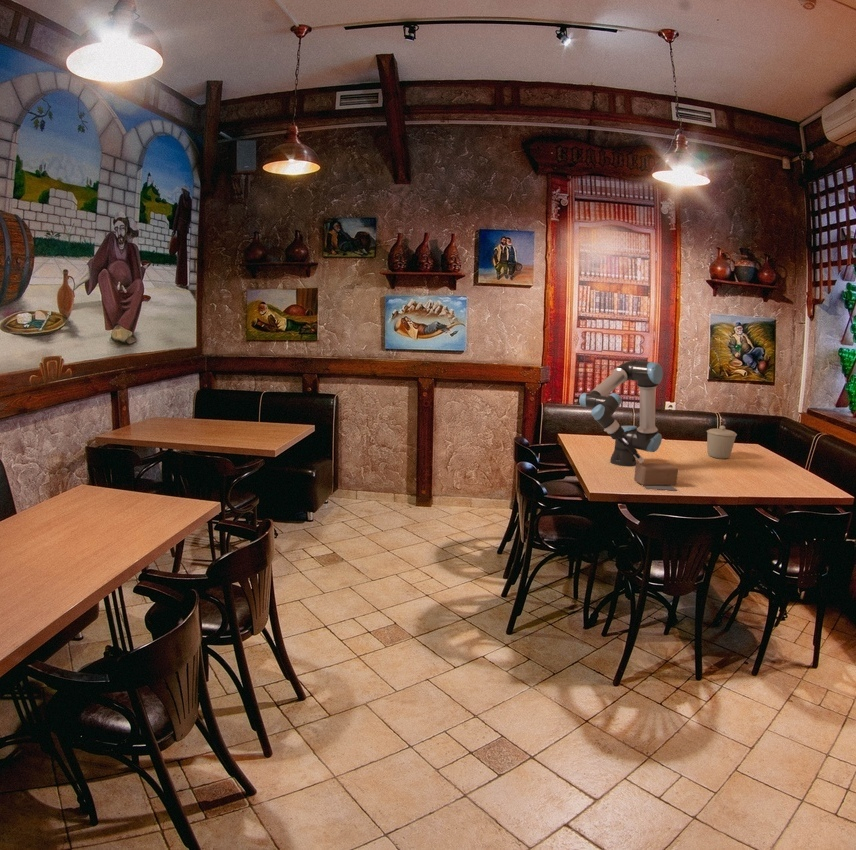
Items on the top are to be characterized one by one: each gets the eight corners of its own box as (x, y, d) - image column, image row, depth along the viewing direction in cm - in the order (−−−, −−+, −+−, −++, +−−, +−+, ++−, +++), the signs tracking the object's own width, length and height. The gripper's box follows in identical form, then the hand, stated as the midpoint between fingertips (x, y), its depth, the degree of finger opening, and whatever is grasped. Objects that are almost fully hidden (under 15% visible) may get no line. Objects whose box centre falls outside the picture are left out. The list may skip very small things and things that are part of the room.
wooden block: (644, 467, 321) (679, 467, 324) (635, 462, 330) (669, 462, 333) (642, 485, 323) (676, 485, 326) (633, 480, 332) (667, 480, 335)
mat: (636, 480, 334) (636, 479, 334) (665, 482, 334) (666, 481, 334) (646, 489, 318) (646, 488, 318) (677, 491, 318) (677, 489, 318)
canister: (734, 461, 387) (739, 429, 383) (703, 458, 394) (707, 426, 390) (732, 456, 404) (737, 425, 400) (703, 452, 411) (707, 421, 407)
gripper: (605, 431, 327) (632, 463, 331) (612, 437, 315) (640, 469, 318) (616, 422, 326) (643, 454, 329) (623, 427, 314) (652, 460, 317)
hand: (642, 461), depth 324 cm, fingers closed
